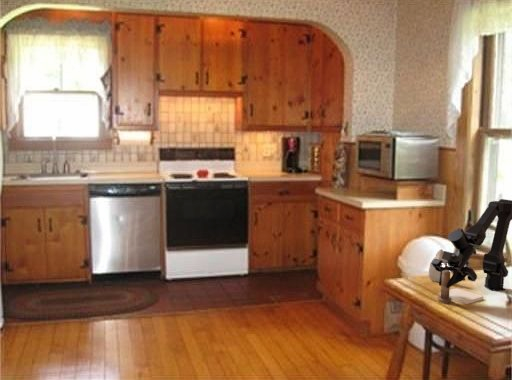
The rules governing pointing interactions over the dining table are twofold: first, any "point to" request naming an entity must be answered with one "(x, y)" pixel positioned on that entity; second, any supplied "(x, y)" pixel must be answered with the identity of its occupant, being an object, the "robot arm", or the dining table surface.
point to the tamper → (445, 288)
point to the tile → (463, 296)
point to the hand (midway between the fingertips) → (443, 286)
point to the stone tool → (433, 273)
